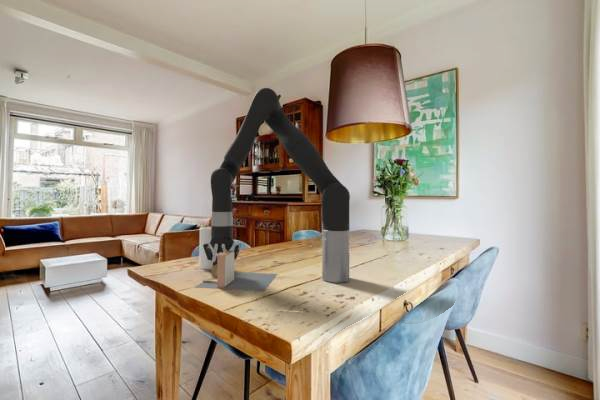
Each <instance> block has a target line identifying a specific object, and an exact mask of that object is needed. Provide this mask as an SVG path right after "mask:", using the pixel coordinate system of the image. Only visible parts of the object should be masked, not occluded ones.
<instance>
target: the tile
mask: <svg viewBox="0 0 600 400" xmlns="http://www.w3.org/2000/svg"><path fill="white" fill-rule="evenodd" d="M234 272H235V260H234V250H231V249H230V250H227V251H225V252H223V253H221V254H219V255H217V287H218V288H224V287H226V286H227V285H228V284H230V283H231V282H232V281H233V280H234Z"/></svg>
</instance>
